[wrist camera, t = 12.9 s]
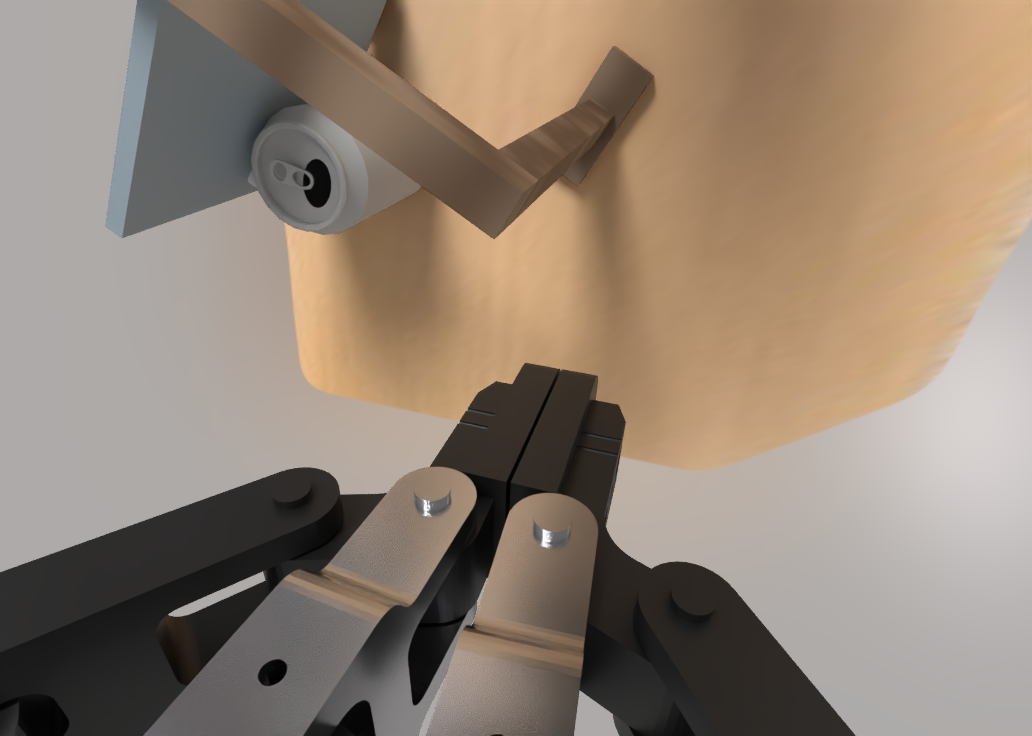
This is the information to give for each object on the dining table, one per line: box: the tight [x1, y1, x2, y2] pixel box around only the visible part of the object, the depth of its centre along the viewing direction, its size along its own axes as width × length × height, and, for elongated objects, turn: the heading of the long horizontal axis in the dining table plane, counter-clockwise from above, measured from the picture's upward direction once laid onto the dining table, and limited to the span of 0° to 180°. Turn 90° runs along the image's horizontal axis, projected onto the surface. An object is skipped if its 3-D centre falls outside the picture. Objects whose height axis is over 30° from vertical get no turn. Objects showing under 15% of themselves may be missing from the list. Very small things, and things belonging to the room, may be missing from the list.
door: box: [105, 0, 387, 238], centre depth 33 cm, size 14×2×18 cm, turn 146°
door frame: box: [167, 0, 654, 239], centre depth 28 cm, size 21×8×22 cm, turn 57°
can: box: [251, 104, 422, 235], centre depth 38 cm, size 8×8×12 cm
